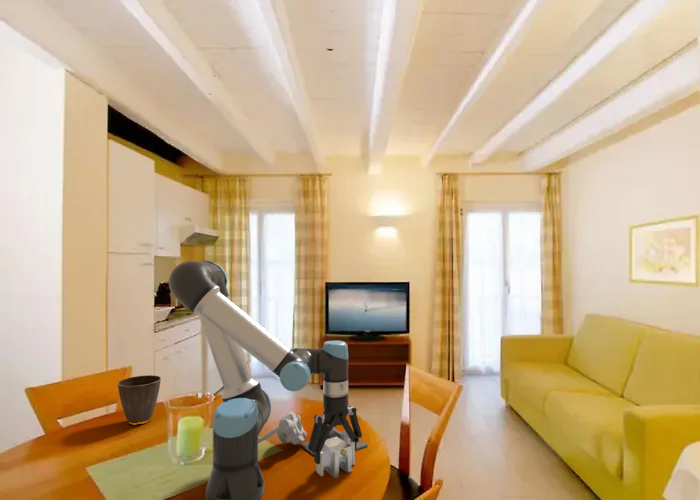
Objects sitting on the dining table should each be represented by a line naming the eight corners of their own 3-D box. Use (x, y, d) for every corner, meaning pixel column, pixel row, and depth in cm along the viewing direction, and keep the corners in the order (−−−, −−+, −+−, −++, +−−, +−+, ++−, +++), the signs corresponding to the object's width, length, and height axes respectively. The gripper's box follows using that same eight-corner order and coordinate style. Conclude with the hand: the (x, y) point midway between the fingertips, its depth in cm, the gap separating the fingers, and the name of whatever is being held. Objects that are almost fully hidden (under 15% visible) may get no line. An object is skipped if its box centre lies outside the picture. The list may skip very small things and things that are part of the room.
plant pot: (107, 427, 155) (108, 384, 156) (138, 413, 169) (139, 373, 170) (139, 431, 151) (140, 387, 151) (169, 417, 165) (169, 376, 165)
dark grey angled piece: (322, 461, 128) (322, 437, 128) (299, 445, 139) (300, 422, 139) (367, 446, 139) (367, 423, 139) (343, 432, 150) (343, 411, 150)
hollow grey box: (335, 478, 118) (335, 452, 118) (320, 466, 125) (320, 441, 125) (352, 472, 122) (352, 446, 122) (336, 460, 129) (336, 436, 129)
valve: (310, 439, 142) (293, 437, 129) (265, 466, 142) (244, 465, 129) (299, 411, 147) (282, 406, 134) (256, 436, 147) (235, 433, 134)
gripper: (308, 405, 114) (308, 486, 114) (373, 389, 128) (373, 461, 127) (295, 397, 120) (295, 474, 120) (358, 383, 134) (359, 452, 133)
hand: (335, 468), depth 124 cm, fingers open, 11 cm apart
